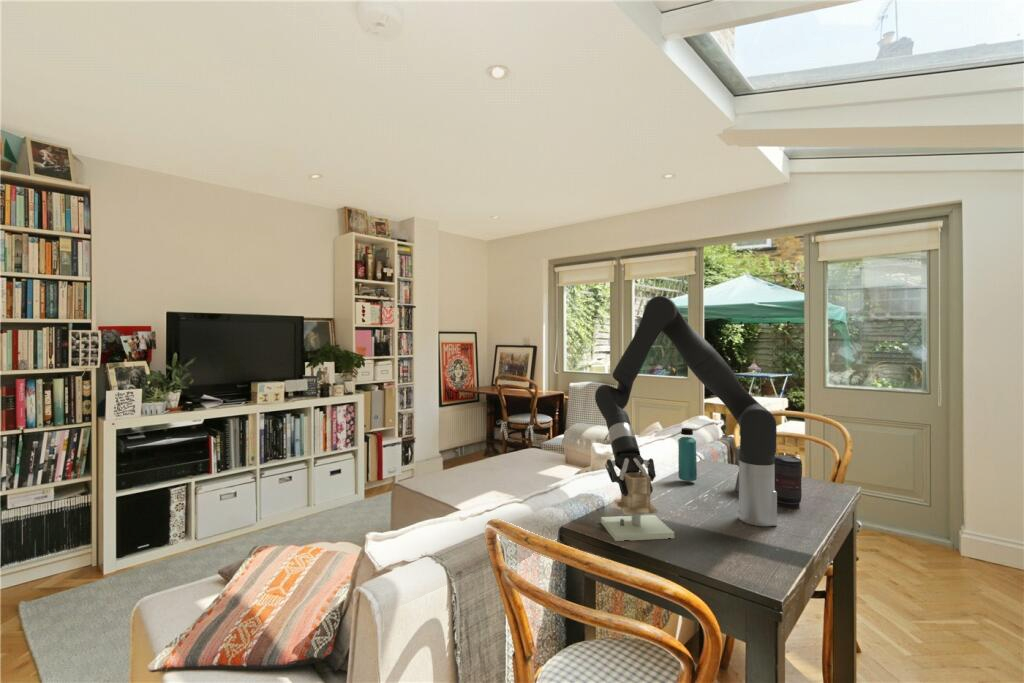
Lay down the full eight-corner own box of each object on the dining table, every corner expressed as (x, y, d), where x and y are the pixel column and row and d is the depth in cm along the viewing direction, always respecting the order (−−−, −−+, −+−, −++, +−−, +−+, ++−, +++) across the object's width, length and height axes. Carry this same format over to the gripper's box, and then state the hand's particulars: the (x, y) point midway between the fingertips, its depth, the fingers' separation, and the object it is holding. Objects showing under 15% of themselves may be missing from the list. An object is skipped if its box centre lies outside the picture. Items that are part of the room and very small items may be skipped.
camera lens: (786, 510, 147) (786, 461, 147) (767, 501, 155) (767, 455, 155) (808, 508, 149) (808, 460, 149) (788, 500, 157) (788, 454, 157)
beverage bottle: (698, 485, 172) (698, 430, 172) (679, 484, 174) (679, 429, 174) (695, 480, 179) (695, 427, 179) (676, 479, 180) (676, 426, 180)
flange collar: (644, 501, 137) (645, 470, 137) (657, 513, 128) (658, 479, 128) (614, 502, 136) (614, 471, 136) (625, 514, 127) (625, 480, 127)
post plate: (654, 520, 139) (654, 494, 139) (674, 538, 126) (674, 509, 126) (600, 522, 138) (600, 496, 138) (615, 541, 125) (615, 512, 125)
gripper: (602, 435, 139) (615, 488, 127) (650, 434, 140) (667, 487, 128) (597, 449, 144) (609, 502, 132) (643, 448, 146) (659, 500, 134)
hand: (637, 494), depth 130 cm, fingers closed on flange collar, 6 cm apart
